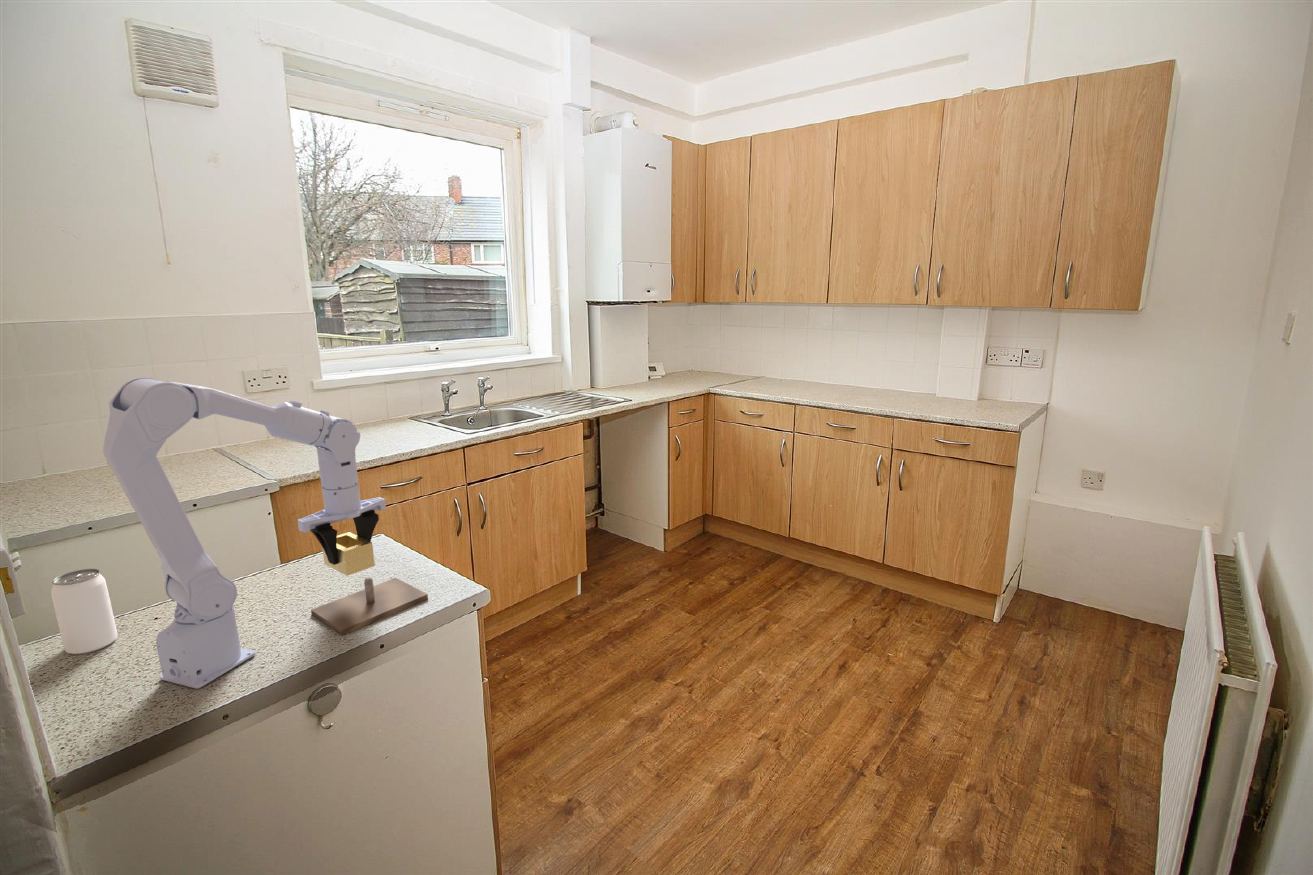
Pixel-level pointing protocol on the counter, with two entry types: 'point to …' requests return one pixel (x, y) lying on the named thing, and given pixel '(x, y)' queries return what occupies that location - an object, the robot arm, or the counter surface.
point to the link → (352, 554)
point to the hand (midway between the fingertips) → (349, 557)
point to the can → (83, 611)
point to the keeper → (368, 605)
